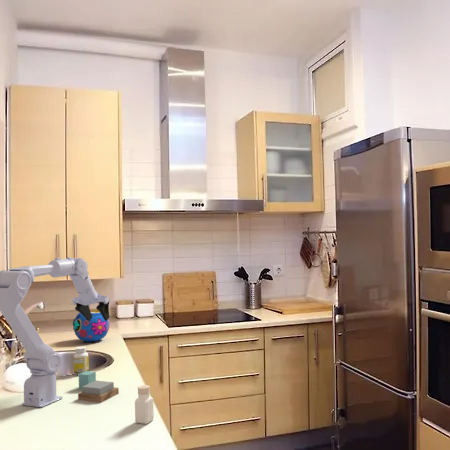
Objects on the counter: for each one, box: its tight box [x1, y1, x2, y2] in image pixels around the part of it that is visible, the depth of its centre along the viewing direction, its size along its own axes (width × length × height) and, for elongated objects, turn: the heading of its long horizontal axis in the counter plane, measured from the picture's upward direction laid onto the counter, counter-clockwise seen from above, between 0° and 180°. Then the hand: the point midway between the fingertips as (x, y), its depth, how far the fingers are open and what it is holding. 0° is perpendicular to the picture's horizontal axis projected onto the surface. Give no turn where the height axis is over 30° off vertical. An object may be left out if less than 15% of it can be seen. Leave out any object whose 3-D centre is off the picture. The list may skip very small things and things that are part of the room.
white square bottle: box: [134, 384, 155, 425], centre depth 134 cm, size 4×4×10 cm
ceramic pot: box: [72, 309, 110, 343], centre depth 246 cm, size 18×18×15 cm
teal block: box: [78, 370, 97, 390], centre depth 167 cm, size 4×4×5 cm
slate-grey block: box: [81, 380, 115, 395], centre depth 157 cm, size 7×7×2 cm
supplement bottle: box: [73, 346, 90, 376], centre depth 185 cm, size 5×5×10 cm
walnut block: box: [77, 386, 119, 404], centre depth 157 cm, size 9×9×2 cm
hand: (98, 319), depth 176 cm, fingers open, 7 cm apart
